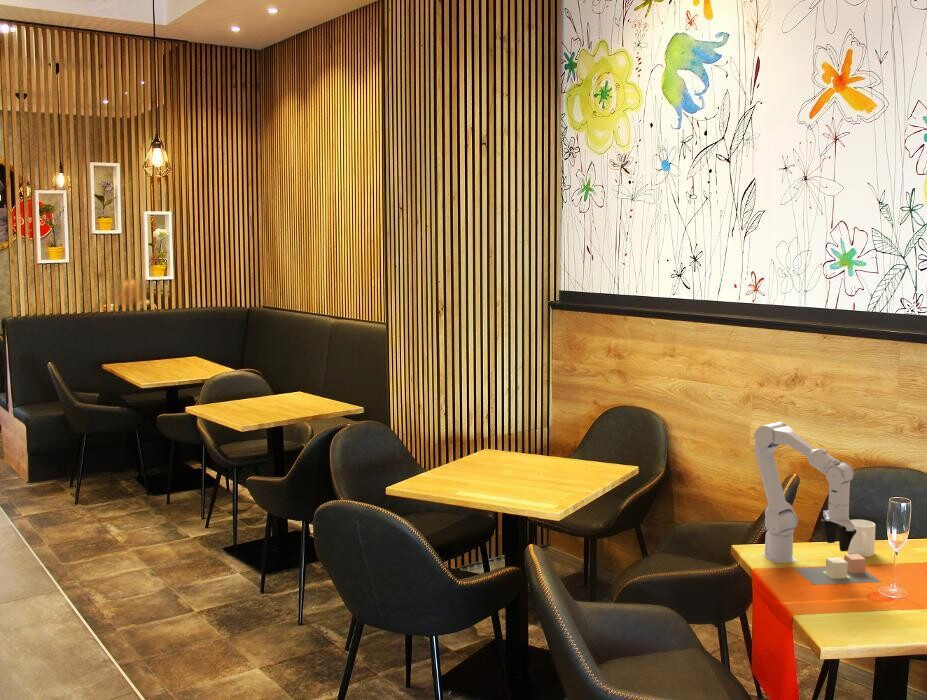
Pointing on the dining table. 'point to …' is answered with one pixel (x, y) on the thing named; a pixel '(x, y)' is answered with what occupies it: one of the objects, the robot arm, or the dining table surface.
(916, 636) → the dining table surface
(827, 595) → the dining table surface
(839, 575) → the cream block
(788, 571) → the dining table surface
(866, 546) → the mug
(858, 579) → the mat
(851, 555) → the terracotta block
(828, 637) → the dining table surface
